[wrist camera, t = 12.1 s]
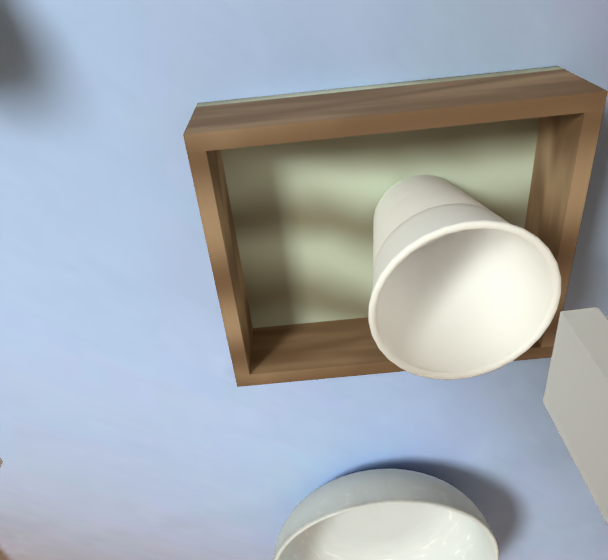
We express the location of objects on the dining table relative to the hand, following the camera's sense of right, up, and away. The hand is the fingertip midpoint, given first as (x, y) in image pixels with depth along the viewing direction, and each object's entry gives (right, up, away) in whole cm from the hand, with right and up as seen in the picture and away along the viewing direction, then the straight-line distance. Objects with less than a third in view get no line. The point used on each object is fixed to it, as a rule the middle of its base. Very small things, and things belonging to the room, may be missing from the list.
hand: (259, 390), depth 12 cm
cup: (+9, +7, +25) cm, 28 cm away
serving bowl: (+8, -21, +44) cm, 50 cm away
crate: (+6, +7, +26) cm, 28 cm away
